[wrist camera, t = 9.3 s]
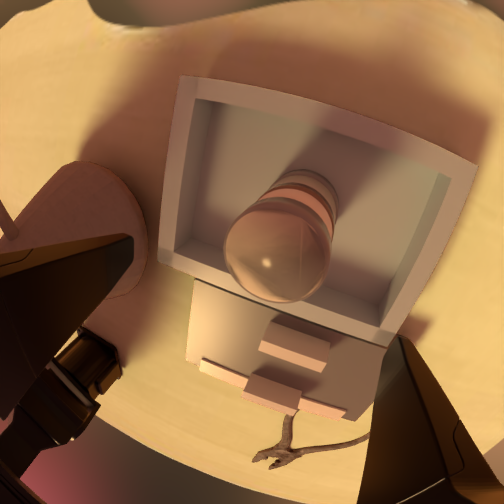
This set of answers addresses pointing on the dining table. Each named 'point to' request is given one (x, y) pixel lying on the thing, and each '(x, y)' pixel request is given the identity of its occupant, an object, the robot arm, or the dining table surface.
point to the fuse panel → (281, 356)
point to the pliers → (289, 455)
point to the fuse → (284, 238)
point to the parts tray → (334, 170)
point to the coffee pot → (80, 216)
